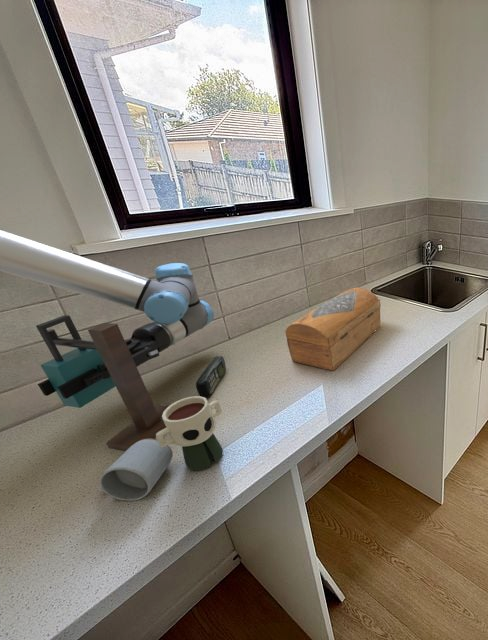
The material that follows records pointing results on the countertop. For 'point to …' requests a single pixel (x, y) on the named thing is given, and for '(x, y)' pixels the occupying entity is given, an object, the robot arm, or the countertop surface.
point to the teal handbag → (72, 365)
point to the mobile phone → (211, 377)
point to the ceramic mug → (136, 470)
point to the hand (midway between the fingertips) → (52, 391)
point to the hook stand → (122, 383)
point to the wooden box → (334, 329)
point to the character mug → (192, 430)
